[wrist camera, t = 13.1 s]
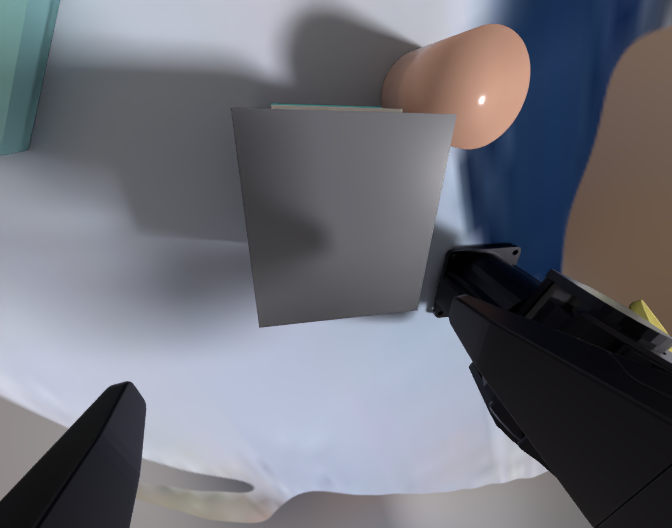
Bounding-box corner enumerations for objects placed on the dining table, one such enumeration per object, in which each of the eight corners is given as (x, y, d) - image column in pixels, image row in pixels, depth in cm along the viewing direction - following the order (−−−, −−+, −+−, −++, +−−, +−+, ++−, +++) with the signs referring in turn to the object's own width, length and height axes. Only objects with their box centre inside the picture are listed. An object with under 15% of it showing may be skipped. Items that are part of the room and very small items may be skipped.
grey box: (379, 106, 17) (457, 109, 10) (367, 240, 21) (417, 310, 14) (243, 102, 15) (222, 101, 8) (259, 247, 20) (254, 328, 13)
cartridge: (459, 52, 16) (546, 28, 11) (443, 136, 19) (510, 149, 13) (385, 46, 16) (443, 18, 10) (377, 135, 18) (422, 149, 13)
